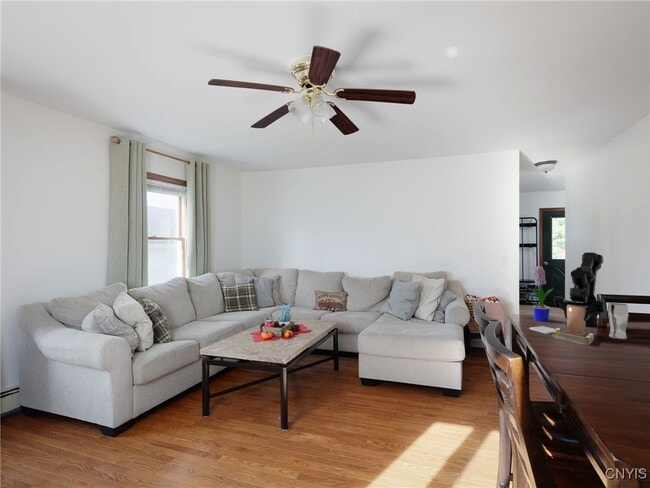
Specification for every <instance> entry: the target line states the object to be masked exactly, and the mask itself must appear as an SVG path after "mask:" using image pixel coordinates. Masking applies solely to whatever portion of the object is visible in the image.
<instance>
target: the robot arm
mask: <svg viewBox="0 0 650 488" xmlns="http://www.w3.org/2000/svg"><path fill="white" fill-rule="evenodd" d="M603 256H604V255H601V254H599V253H596V252H586V251H585V252H583V254H582V255H581V264H580V266H579V267H576V268H575V269H574V270H572V271H570V277H571V280H572V284H573V287H570V288H569V299H570V300H568V299H566V298H565V297H564V296H554V297H553V299H552V301H553V304H554V307H555V308H559V309H560V310H563V314H564V318H565V319H566V320H567V306H570V305H573V306H582V307H585V319H584V320H585V327H593V328H597V327H598V328H599V327H600V326H599V325H598V316H601V315H602V314H603V313H605V310H606V308H605V303H604V301H603V300H597V297H596V296H595V291H596V282H597V274H598V273H597V272H598V271H599V270H600V269H602V264H604V257H603ZM601 313H602V314H601Z"/></svg>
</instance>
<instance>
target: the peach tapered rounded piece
mask: <svg viewBox="0 0 650 488" xmlns="http://www.w3.org/2000/svg"><path fill="white" fill-rule="evenodd" d="M584 319H585V307H582V306H573V305H567V319H566V334H570V335H576V336H583V337H584V335H586V326H585V320H584Z"/></svg>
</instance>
